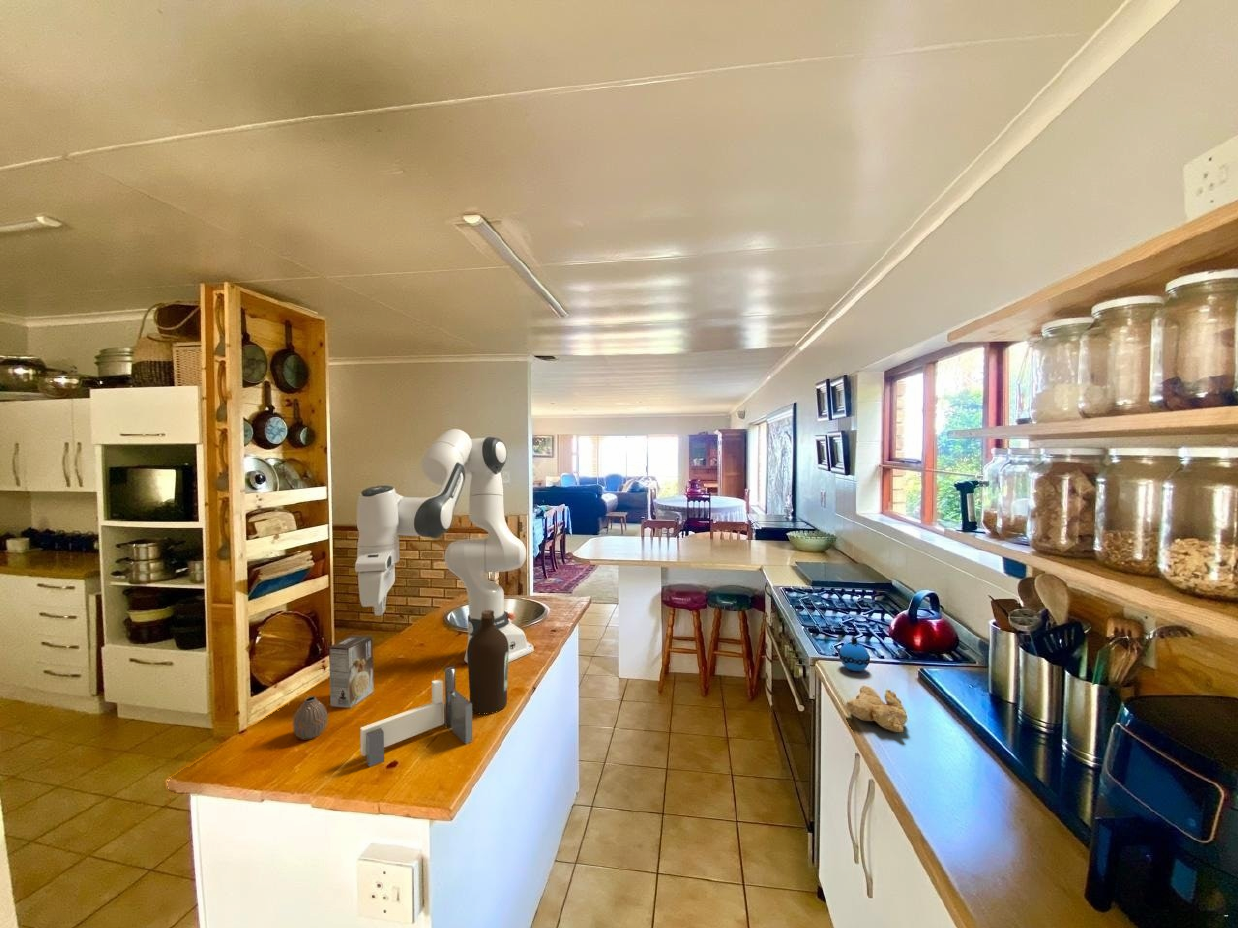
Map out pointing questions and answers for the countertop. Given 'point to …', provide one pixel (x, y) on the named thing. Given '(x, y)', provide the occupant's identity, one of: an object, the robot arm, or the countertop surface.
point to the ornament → (854, 656)
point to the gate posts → (455, 718)
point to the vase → (310, 719)
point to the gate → (409, 720)
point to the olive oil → (488, 666)
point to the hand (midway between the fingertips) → (380, 613)
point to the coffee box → (351, 670)
